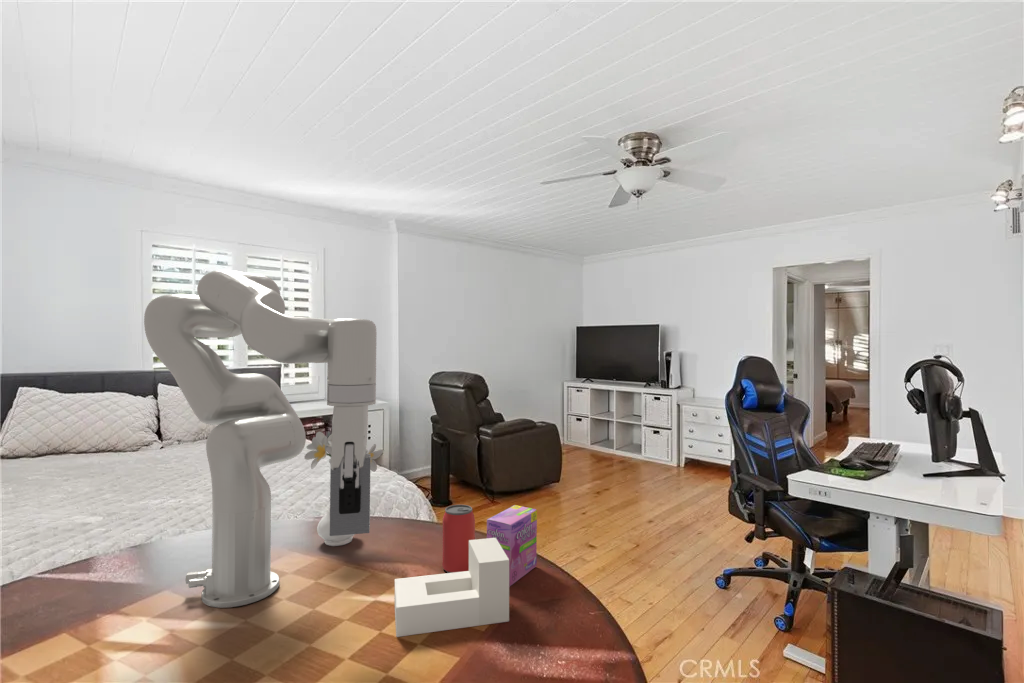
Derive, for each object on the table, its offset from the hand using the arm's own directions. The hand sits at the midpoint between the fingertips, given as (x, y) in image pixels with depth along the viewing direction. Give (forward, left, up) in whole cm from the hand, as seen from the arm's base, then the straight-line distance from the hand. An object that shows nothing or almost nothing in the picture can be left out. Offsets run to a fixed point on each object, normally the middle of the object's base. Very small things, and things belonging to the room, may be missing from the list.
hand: (350, 508), depth 81 cm
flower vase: (-4, +38, -19) cm, 43 cm away
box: (+30, +12, -19) cm, 38 cm away
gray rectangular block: (0, 0, -4) cm, 4 cm away
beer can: (+20, +17, -19) cm, 32 cm away
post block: (+16, 0, -19) cm, 25 cm away
